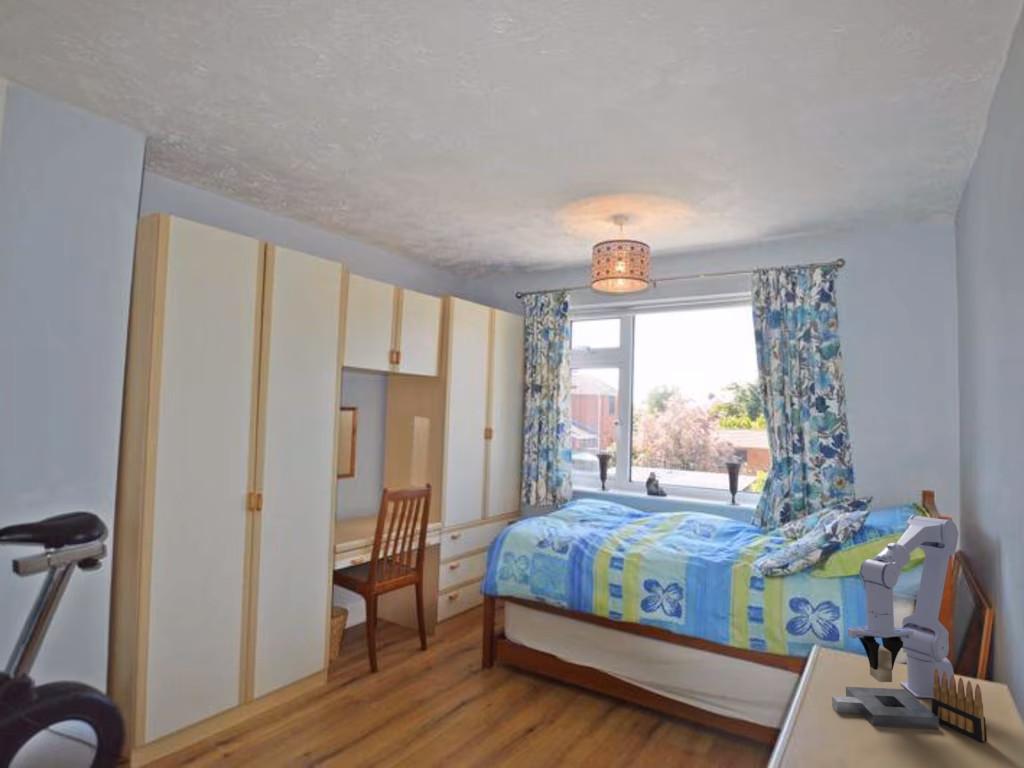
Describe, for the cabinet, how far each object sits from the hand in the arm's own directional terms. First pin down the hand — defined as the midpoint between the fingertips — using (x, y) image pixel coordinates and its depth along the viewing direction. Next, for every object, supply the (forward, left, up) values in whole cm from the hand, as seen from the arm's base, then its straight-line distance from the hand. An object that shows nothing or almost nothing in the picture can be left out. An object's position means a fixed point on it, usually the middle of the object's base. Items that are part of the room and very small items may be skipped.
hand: (881, 668), depth 145 cm
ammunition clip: (-12, +9, -10) cm, 18 cm away
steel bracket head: (+2, +2, -9) cm, 10 cm away
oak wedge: (0, 0, -2) cm, 3 cm away
